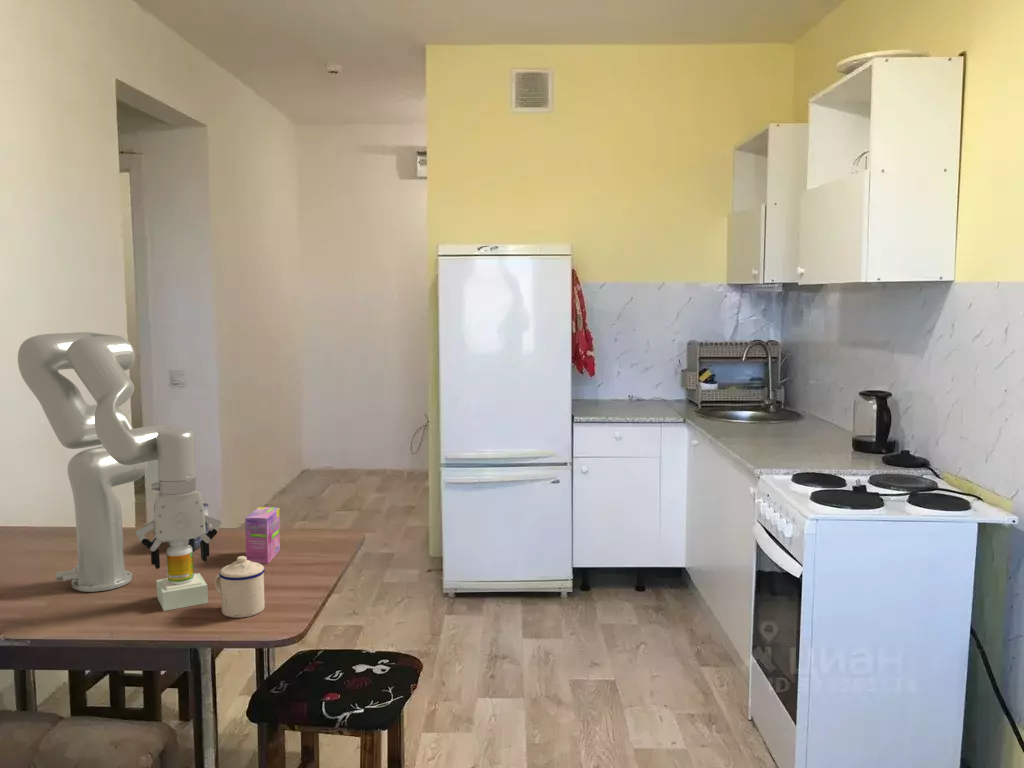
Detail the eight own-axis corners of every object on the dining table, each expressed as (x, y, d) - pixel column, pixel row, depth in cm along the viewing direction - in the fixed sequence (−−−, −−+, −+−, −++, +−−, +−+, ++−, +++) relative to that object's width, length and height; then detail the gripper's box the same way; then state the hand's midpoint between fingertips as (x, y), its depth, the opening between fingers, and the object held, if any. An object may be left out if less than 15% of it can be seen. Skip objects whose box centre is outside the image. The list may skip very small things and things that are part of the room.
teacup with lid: (275, 606, 178) (273, 553, 176) (244, 621, 170) (242, 566, 168) (232, 598, 183) (230, 546, 182) (200, 612, 175) (198, 558, 173)
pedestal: (163, 610, 175) (162, 590, 175) (157, 597, 183) (156, 578, 182) (208, 602, 180) (207, 583, 179) (200, 590, 187) (199, 571, 187)
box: (268, 564, 206) (267, 517, 205) (245, 564, 206) (244, 517, 205) (281, 551, 216) (279, 507, 215) (259, 551, 216) (257, 506, 215)
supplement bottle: (196, 582, 180) (194, 538, 179) (169, 586, 177) (167, 542, 176) (191, 574, 185) (189, 532, 184) (165, 579, 182) (163, 536, 181)
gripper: (136, 494, 171) (140, 575, 173) (222, 485, 180) (225, 561, 182) (131, 487, 177) (135, 565, 179) (215, 478, 186) (218, 552, 188)
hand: (180, 563), depth 180 cm, fingers open, 9 cm apart
